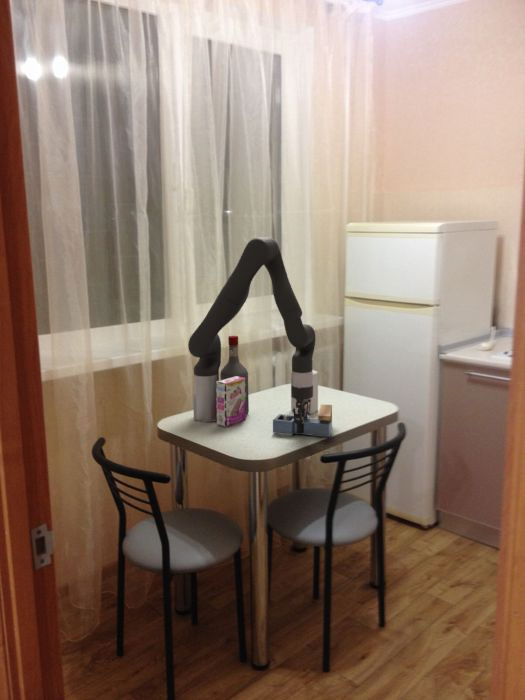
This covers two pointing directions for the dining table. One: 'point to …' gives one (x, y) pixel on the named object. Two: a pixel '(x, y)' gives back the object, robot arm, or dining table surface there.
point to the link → (310, 426)
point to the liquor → (235, 366)
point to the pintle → (286, 417)
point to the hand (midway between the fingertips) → (302, 431)
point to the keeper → (325, 412)
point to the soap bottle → (315, 395)
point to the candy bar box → (231, 401)
